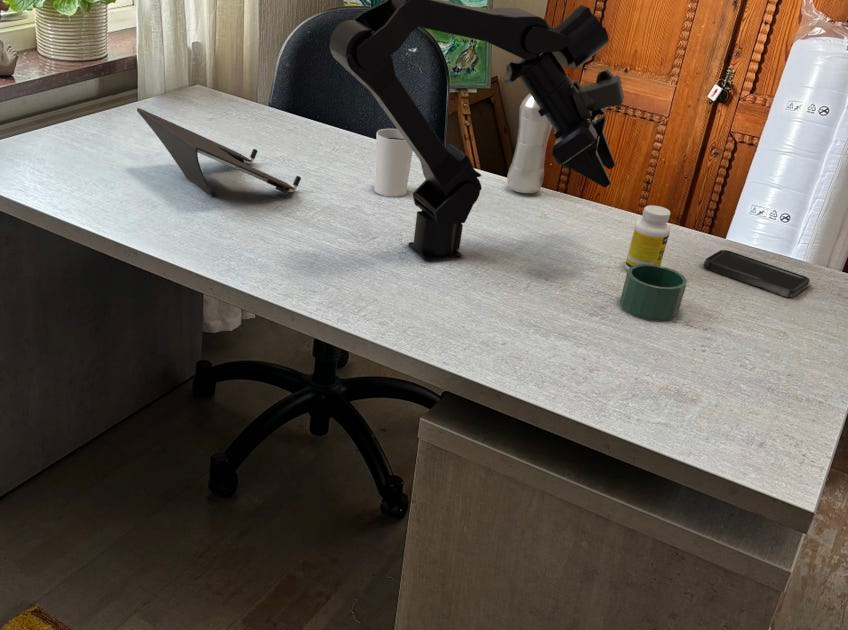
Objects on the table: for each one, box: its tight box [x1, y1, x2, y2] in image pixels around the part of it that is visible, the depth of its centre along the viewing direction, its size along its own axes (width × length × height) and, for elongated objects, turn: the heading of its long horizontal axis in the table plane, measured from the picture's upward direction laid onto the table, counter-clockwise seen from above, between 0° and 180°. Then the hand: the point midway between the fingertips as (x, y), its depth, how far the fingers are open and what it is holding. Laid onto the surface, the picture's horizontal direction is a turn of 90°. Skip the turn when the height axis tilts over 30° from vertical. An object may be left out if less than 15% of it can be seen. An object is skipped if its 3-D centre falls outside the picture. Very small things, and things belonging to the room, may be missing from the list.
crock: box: [619, 264, 688, 322], centre depth 141 cm, size 8×8×5 cm
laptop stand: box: [136, 107, 302, 197], centre depth 168 cm, size 23×23×9 cm
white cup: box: [373, 128, 414, 198], centre depth 172 cm, size 7×7×10 cm
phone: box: [703, 249, 811, 298], centre depth 155 cm, size 8×1×15 cm
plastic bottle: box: [506, 93, 553, 194], centre depth 174 cm, size 6×7×20 cm
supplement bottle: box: [624, 205, 671, 271], centre depth 151 cm, size 5×5×10 cm
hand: (610, 176), depth 148 cm, fingers open, 9 cm apart
